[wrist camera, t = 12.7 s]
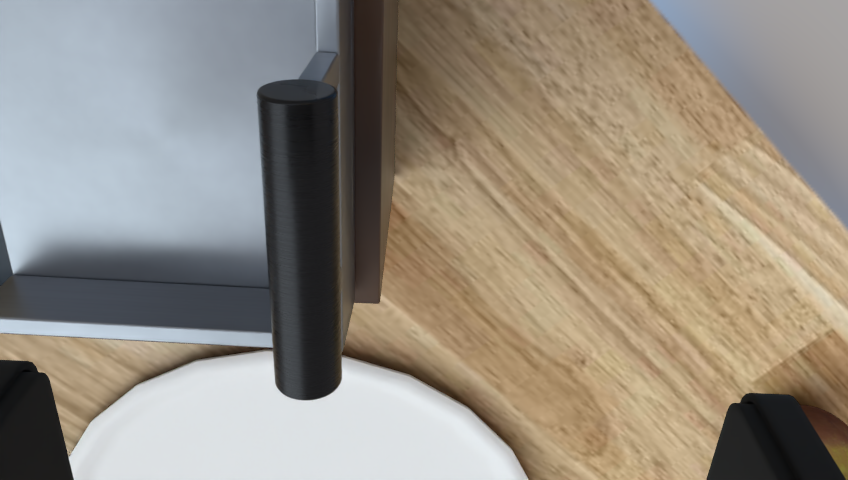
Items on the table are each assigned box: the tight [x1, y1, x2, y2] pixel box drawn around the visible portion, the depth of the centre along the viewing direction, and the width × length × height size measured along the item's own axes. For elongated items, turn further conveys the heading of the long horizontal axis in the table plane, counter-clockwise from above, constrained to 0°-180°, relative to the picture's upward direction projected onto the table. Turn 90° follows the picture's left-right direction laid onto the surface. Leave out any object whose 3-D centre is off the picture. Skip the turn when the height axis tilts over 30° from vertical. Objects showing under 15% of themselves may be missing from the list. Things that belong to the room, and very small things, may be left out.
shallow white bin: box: [0, 0, 355, 400], centre depth 20 cm, size 12×11×8 cm
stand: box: [354, 0, 398, 304], centre depth 28 cm, size 12×12×11 cm
